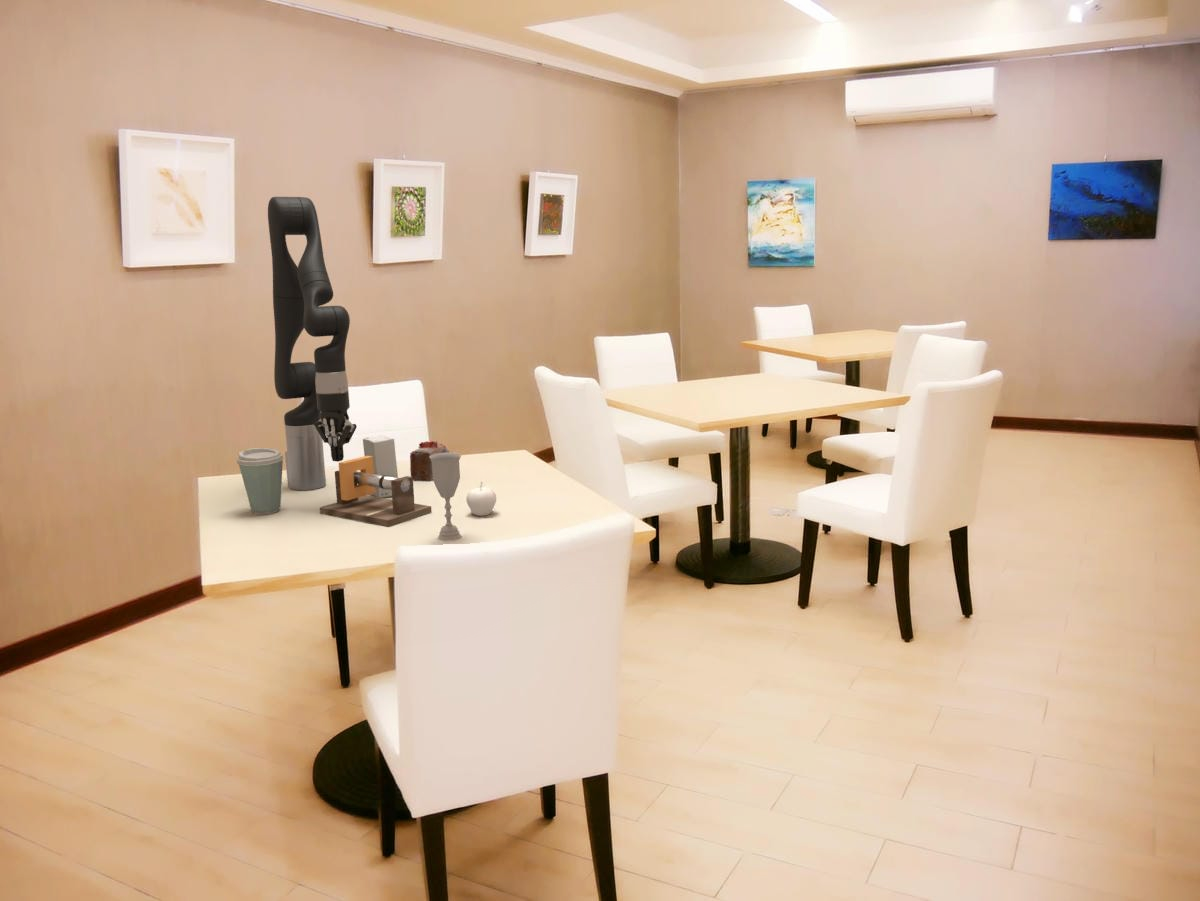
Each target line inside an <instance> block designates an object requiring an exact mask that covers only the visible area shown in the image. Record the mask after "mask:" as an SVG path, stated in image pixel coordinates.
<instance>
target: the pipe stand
mask: <svg viewBox="0 0 1200 901" xmlns="http://www.w3.org/2000/svg"><path fill="white" fill-rule="evenodd" d="M404 479H408V480H409V482H410V488H409V490H408V491H407V492H403V490H401V483H402V481H403V480H404ZM334 480H335V483H334V484H335V493H336V494H335V495H336V502H333V503H331V504H327V505H324V506H323V505H322V506H319V514H322V515H326V516H332V517H337V518H342V519H346V520H352V521H357V522H362V523H367V524H374V525H378V526H383V527H387V528H388V527H392V526H395V525H398V524H402V523H404V522H407V521H411V520H412V519H416V518H420V517H421V516H426V515H427V514H431V513H432V506H431V505H426V504H420V503H415V492H414V480H413V477H411V476H409V475H406V476H403V477H398V479H394V480H391V488H392V496H391V498H387V497H383V498H380V497H376V496H374V495H369V494H368V495H365V496H361V497H358V498H355V499H351V500H348V501H347V500H341V487H340V474H339V470H336V471H334ZM408 480H406V481H408ZM404 482H405V481H404ZM355 485H358V484H354V486H355ZM402 485H403V484H402ZM404 486H405V485H404ZM402 488H403V487H402ZM405 491H406V490H405Z"/></svg>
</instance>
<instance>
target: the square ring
mask: <svg viewBox="0 0 1200 901" xmlns="http://www.w3.org/2000/svg"><path fill="white" fill-rule="evenodd" d="M338 471H339V474H340V487H341V500H347V501H348V500H351V499H355V498H358V497H361V496H365V495H368V496H369V495H372V493H375V487H372V486H365V485H359V484H357V485H355V486H354V475H353V472H355V471H357V472H364V473H370V474H374V466H373V456H361V457H356V458H353V459H352V458H351V459H348V460H344V461H343V460H342V461H338Z"/></svg>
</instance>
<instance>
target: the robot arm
mask: <svg viewBox="0 0 1200 901" xmlns="http://www.w3.org/2000/svg"><path fill="white" fill-rule="evenodd" d="M267 205H268V206H267V222H268V233H269V240H270V241H269V242H270V250H271V260H272V261H271V262H272V265H271V266H272V267H271V268H272V303H273V304H272V305H273V308H272V309H273V317H274V318H273V319H274V320H273V321H274V340H275V341H274V349H275V350H274V368H273V369H274V372H273V373H274V375H273V377H274V380H273V381H274V386H275V388H274V389H275V392H276V395H277V396H278V398H280V399H282V400H292V399H302V398H303V399H302V400H303V401H302V402H301V403H300V404H299V405H298V406H297V407H295V408H293V409H290V410H289V411H287V412H286V413H284V416H283V418H284V419H283V420H284V431H285V441H286V450H285V453H284V456H285V467H286V468H285V469H286V478H287V480H286V482H287V487H289V488H290V489H292V490H294V491H310V490H318V489H321V488H324V487H325V486H326V485H327V482H326V481H327V480H326V468H325V466H326V464H325V456H324V445H323V444H325V443H326V444H328V446H329V447H330V457H331V460H332V462H338V463H339V462H343V460H344V457H345V456H344V455H345V454H344V445H345V444H349V443H350V441H351V440H352V437H353V435H354V434H355V432H356V429H357V424H356V423H352V422H351V421H350V417H349V413H348V409H349V408H350V394H349V382H348V381H349V380H348V375H347V371H346V368H347V367H346V353H345V352H346V345H347V338H348V333H349V330H350V325H351V324H350V323H351V319H350V315H349V312H348V310H347V309H346V308H345V307H344V306H342V305H327V306H325V305H326V304H328V303H330V302H331V301H332V300H333V298H334V290H333V286H332V284H331V280H330V278H329V274H328V271H327V267H326V263H325V258H324V251H323V250H324V249H323V243H322V242H323V241H322V237H321V236H322V235H321V231H320V224H319V218H318V213H317V210H316V207H315V204H314V202H313V201H312V200H311V199H310V198H309V197H304V196H273V197H271V198H270V199H269V200H268V204H267ZM286 236H305V238H306V245H305V249H304V251H303V253H302V255H301V258H300V260H299V262H298V265H297V264H296V262H295V261H294V259H293V258H292V255H291V254H290V251H289V248H288V245H287V237H286ZM303 330H304V331H306V332H305V333H306V334H308V335H309V336H310V337H313V338H314V337H315V338H317V337H319V338H320V337H332V340H331V341H330V342H329V343H328V344H326V345H322V346H319V347H317V348H315V349H314V351H313V357H314V358H313V359H314V362H311V361H301V362H291V361H292V357H293V356H292V354H293V350H294V347H295V345H296V342H297V341H298V339H299V337H300V335H301V334H302V332H303Z"/></svg>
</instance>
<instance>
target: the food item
mask: <svg viewBox="0 0 1200 901" xmlns="http://www.w3.org/2000/svg"><path fill="white" fill-rule="evenodd" d="M437 453H450V450H449V449H447V446H446V445H444V444H443V443H439V442H438V441H432V440H431V441H421V442H420V443H419V444H418V449H417V448H416V449H415V450H412V451H411V452H410V453H409V454H410V456H409V460H410V463H409V464H410V470H409V471H410V477H413V481H416V482H417V481H420V482H421V481H422V482H424V481H425V482H430V481H432V480H433V474H432V461H431V460H430V458H429V456H430V455H433V454H437Z"/></svg>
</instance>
